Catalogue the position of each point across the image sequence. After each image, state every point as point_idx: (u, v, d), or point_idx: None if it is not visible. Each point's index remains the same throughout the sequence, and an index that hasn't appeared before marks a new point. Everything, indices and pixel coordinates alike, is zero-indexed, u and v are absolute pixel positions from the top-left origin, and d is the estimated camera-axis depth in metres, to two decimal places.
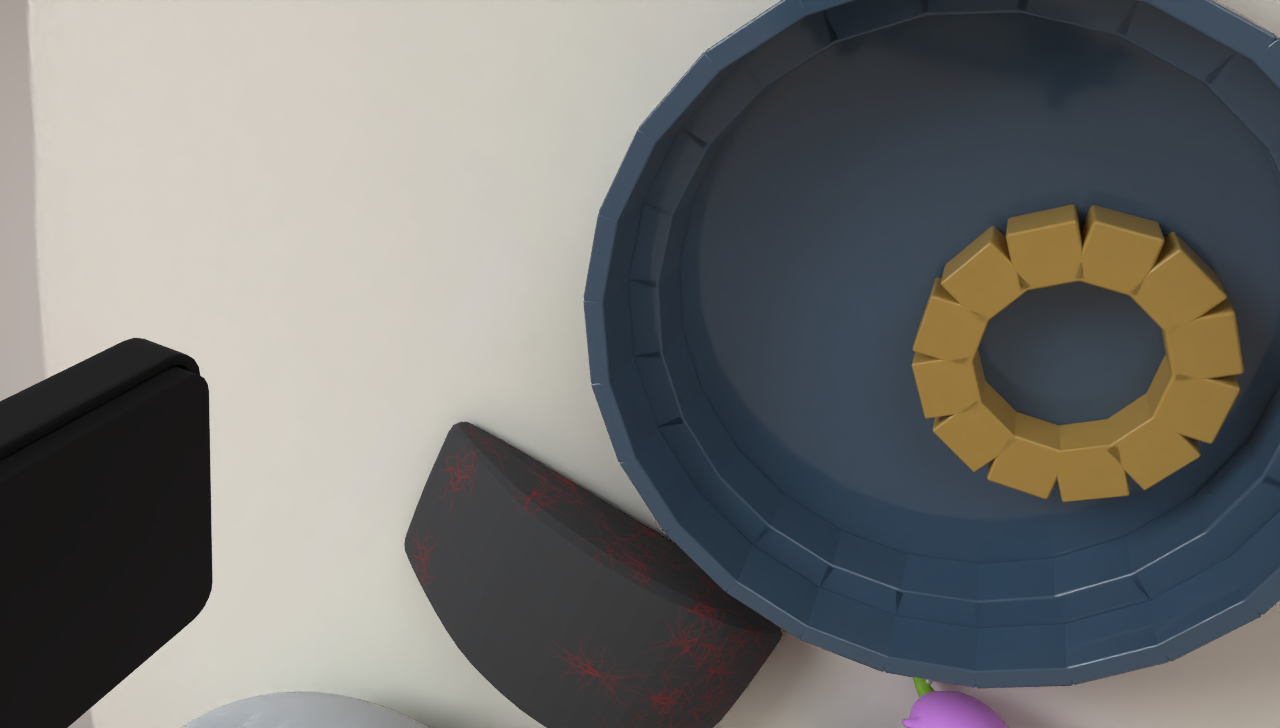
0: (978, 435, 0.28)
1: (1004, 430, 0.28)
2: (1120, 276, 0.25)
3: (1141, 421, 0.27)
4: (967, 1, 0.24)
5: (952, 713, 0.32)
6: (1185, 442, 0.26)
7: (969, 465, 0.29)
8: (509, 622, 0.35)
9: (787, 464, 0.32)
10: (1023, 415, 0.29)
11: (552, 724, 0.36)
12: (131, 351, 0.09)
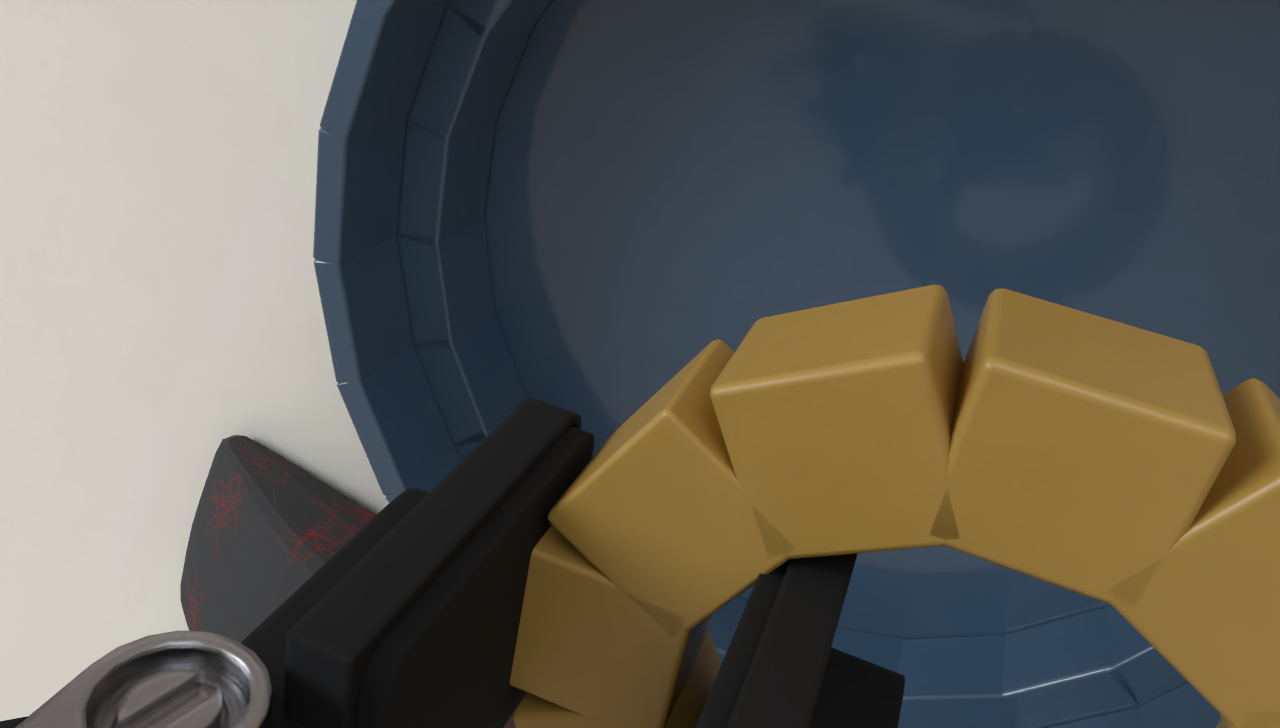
0: None
1: None
2: (1078, 544, 0.07)
3: None
4: None
5: None
6: None
7: None
8: None
9: None
10: None
11: None
12: (535, 411, 0.10)
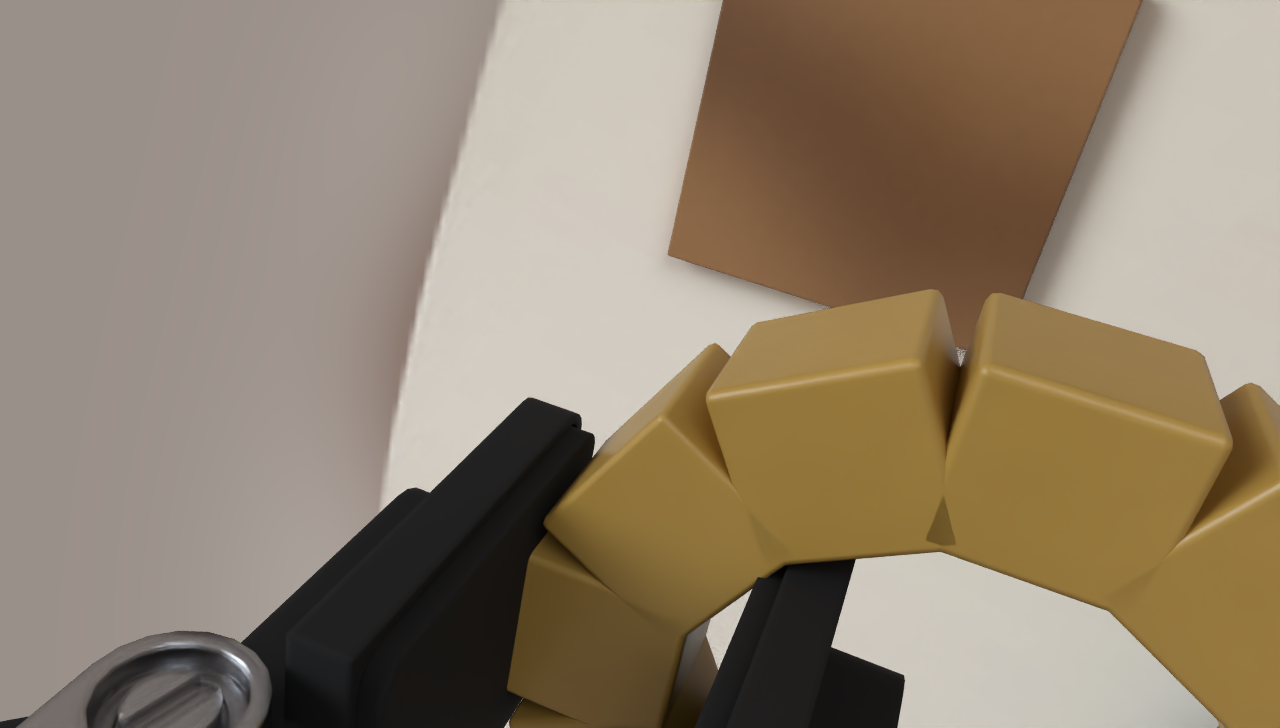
0: None
1: None
2: (1075, 550, 0.07)
3: None
4: None
5: None
6: None
7: None
8: None
9: None
10: None
11: None
12: (535, 412, 0.10)
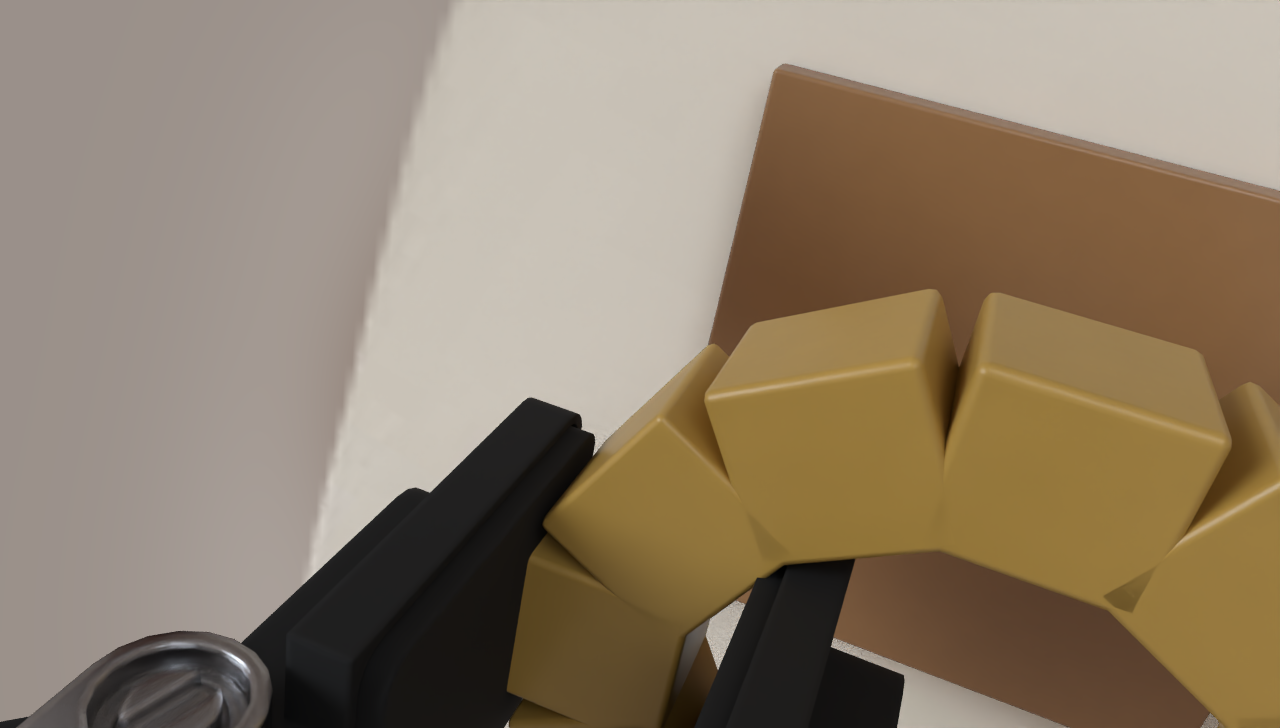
0: None
1: None
2: (1074, 550, 0.07)
3: None
4: None
5: None
6: None
7: None
8: None
9: None
10: None
11: None
12: (535, 412, 0.10)
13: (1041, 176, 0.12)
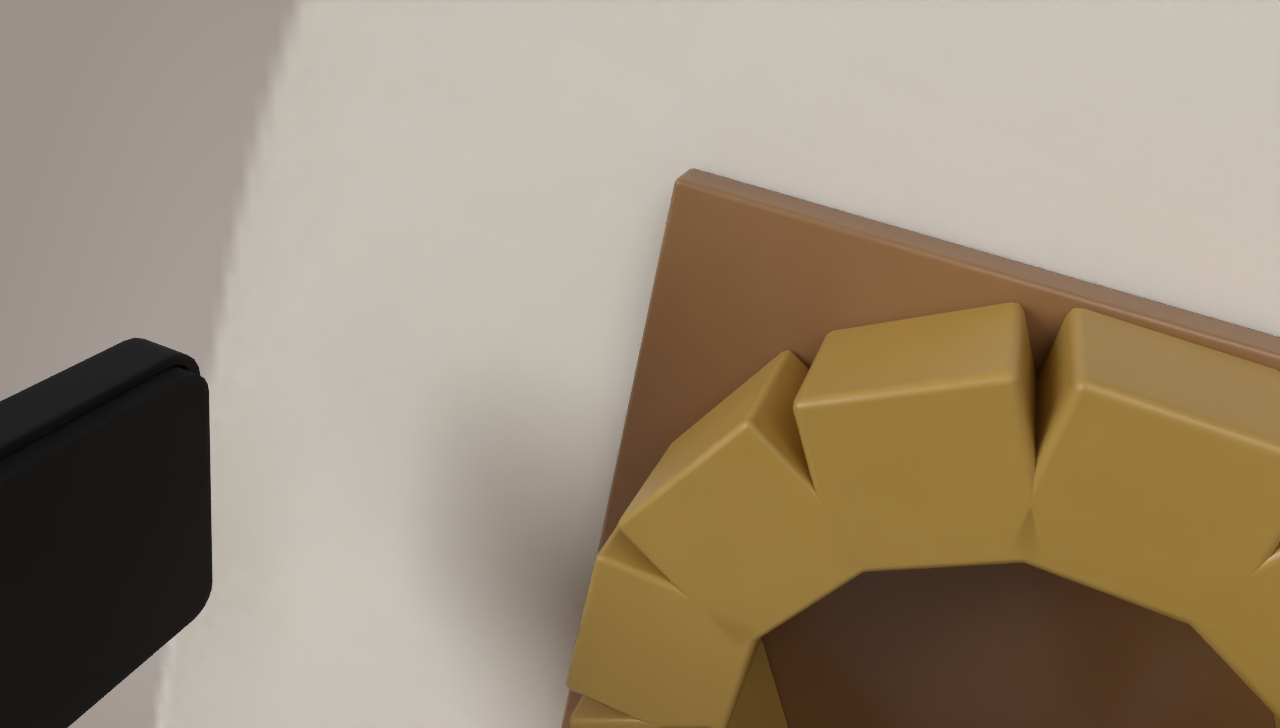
0: None
1: None
2: (1161, 565, 0.07)
3: None
4: None
5: None
6: None
7: None
8: None
9: None
10: None
11: None
12: (131, 351, 0.09)
13: (1037, 335, 0.09)
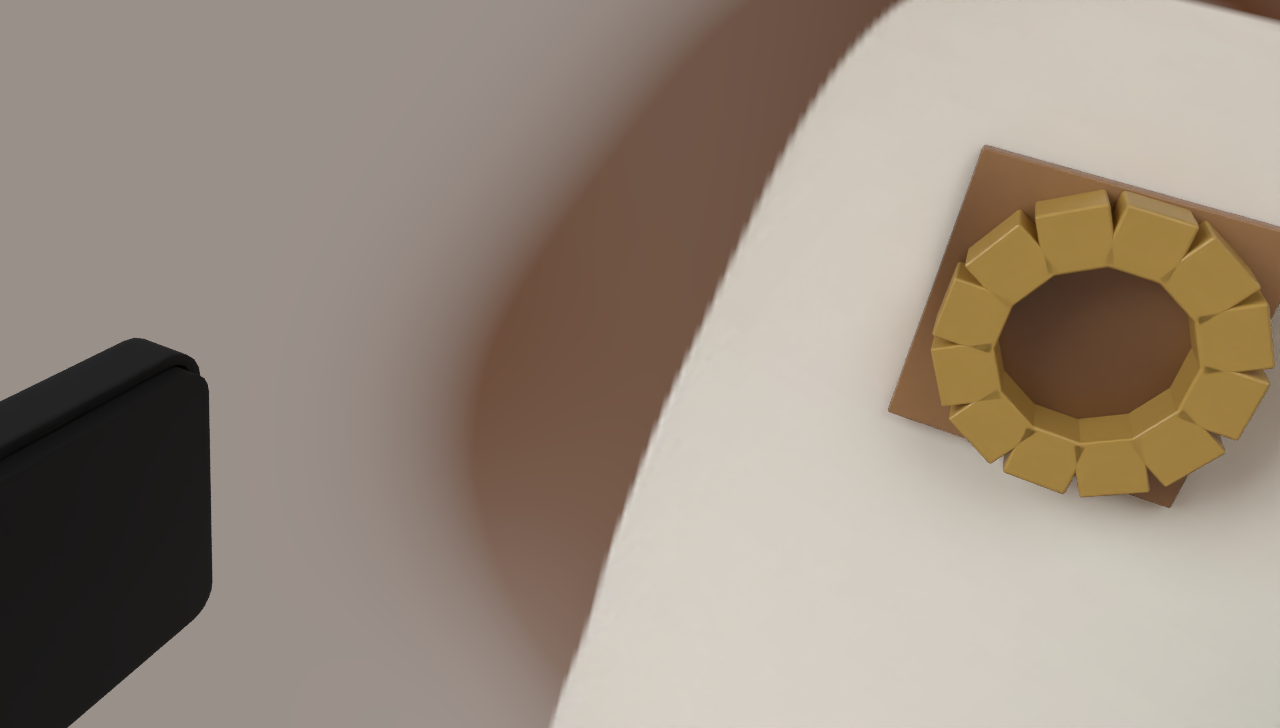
0: (997, 425, 0.27)
1: (1023, 420, 0.27)
2: (1151, 263, 0.25)
3: (1165, 415, 0.26)
4: None
5: None
6: (1210, 438, 0.26)
7: (985, 456, 0.28)
8: None
9: None
10: (1042, 407, 0.28)
11: None
12: (131, 351, 0.09)
13: (1111, 201, 0.26)
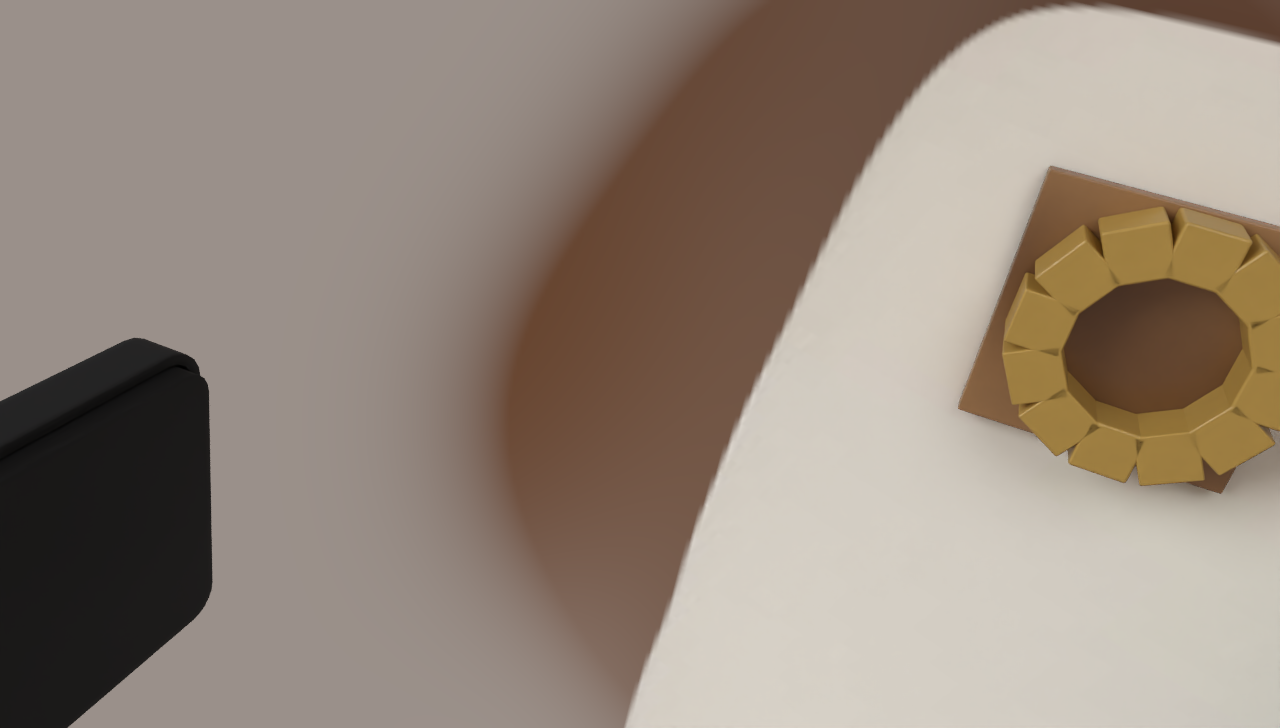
0: (1063, 421, 0.30)
1: (1088, 417, 0.30)
2: (1208, 274, 0.27)
3: (1219, 411, 0.29)
4: None
5: None
6: (1261, 431, 0.28)
7: (1052, 449, 0.30)
8: None
9: None
10: (1103, 404, 0.31)
11: None
12: (131, 351, 0.09)
13: (1168, 216, 0.28)
